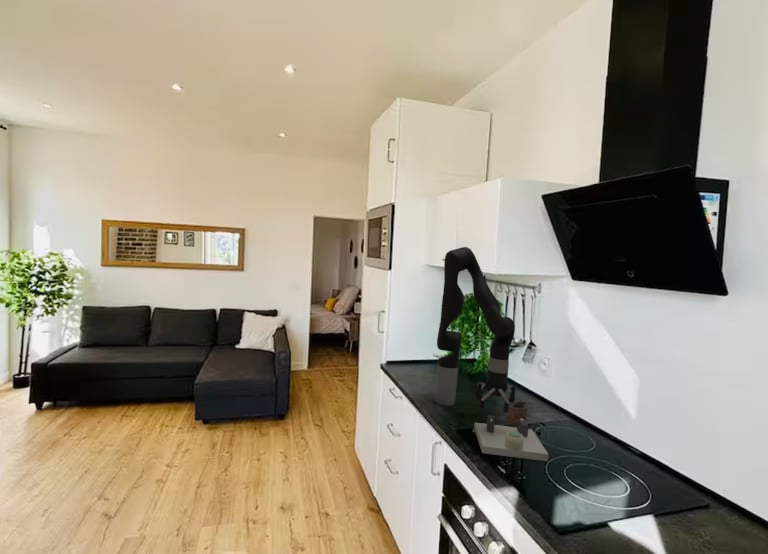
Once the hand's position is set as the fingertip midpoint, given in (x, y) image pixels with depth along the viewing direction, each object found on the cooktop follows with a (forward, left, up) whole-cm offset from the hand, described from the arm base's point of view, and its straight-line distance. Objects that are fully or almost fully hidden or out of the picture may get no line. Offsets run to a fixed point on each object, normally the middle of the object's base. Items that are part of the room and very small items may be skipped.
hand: (493, 410), depth 153 cm
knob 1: (+1, -1, -7) cm, 7 cm away
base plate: (+6, +5, -10) cm, 12 cm away
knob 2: (+1, +11, -7) cm, 13 cm away
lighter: (-14, +13, -10) cm, 22 cm away
